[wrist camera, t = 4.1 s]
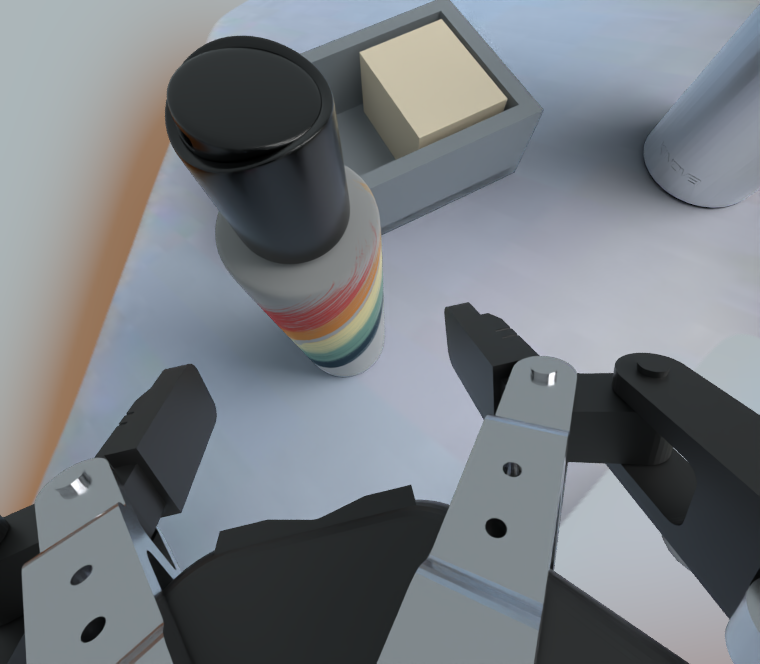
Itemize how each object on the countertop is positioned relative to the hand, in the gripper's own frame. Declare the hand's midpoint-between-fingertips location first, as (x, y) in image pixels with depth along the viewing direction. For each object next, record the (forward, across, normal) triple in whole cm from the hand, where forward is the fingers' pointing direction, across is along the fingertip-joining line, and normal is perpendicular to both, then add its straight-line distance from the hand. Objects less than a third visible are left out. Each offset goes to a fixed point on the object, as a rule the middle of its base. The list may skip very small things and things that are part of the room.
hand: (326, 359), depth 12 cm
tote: (+24, -5, -4) cm, 25 cm away
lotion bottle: (+14, 0, +7) cm, 15 cm away
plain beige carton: (+24, -10, -5) cm, 27 cm away
